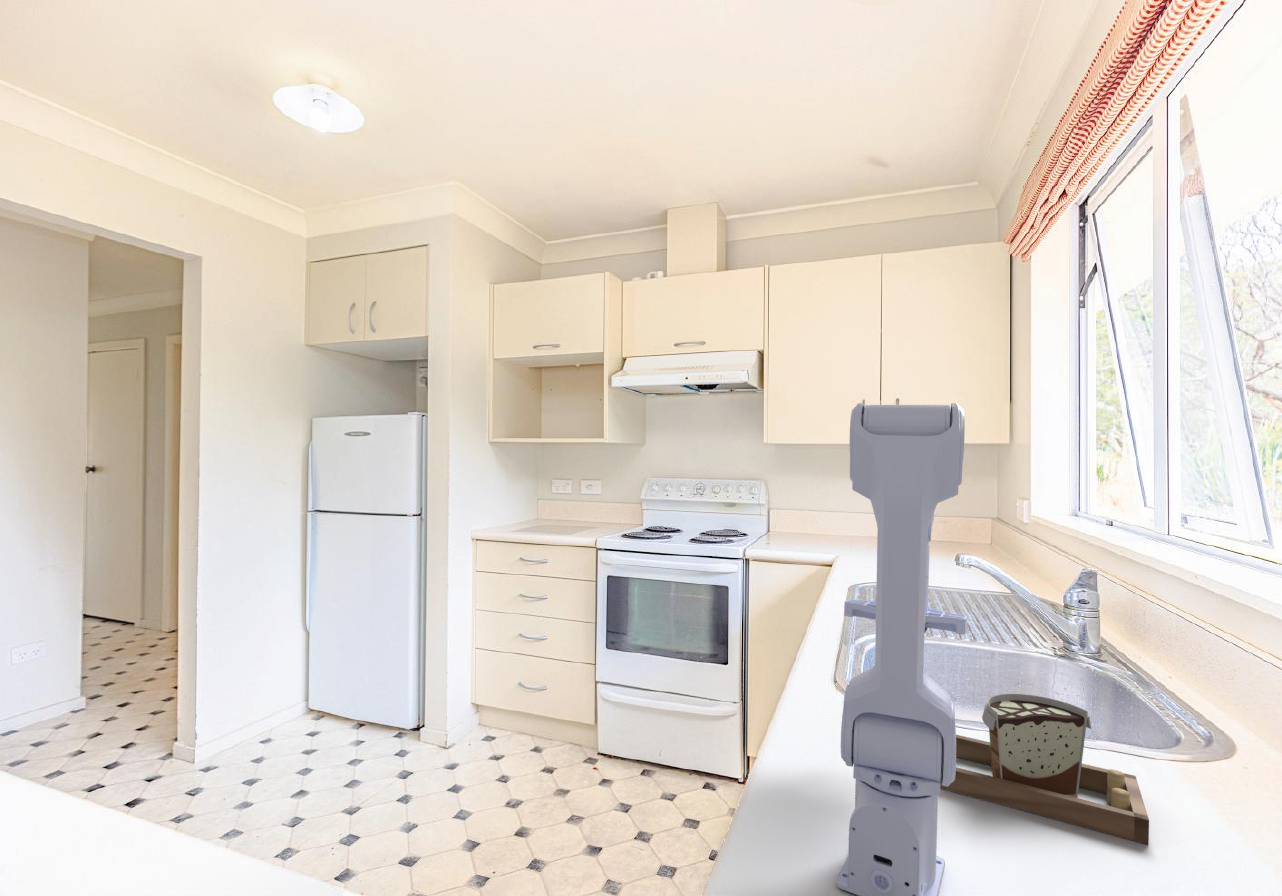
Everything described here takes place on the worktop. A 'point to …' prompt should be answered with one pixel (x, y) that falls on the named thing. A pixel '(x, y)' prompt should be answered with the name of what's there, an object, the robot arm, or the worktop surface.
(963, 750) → the rail frame
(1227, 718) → the worktop surface
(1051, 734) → the food container
